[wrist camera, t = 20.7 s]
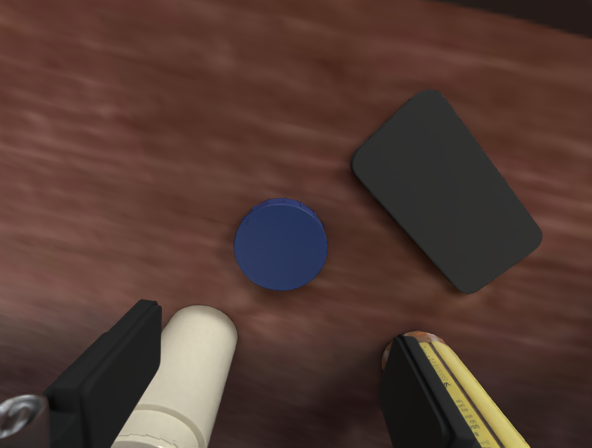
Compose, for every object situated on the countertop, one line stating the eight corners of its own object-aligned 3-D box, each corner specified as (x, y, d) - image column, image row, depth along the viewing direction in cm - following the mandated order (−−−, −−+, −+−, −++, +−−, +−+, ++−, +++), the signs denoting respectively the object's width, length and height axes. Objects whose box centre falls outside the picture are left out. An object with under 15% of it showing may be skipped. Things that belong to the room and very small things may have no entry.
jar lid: (222, 220, 21) (215, 228, 19) (303, 182, 20) (304, 186, 18) (262, 291, 23) (259, 304, 21) (338, 259, 22) (343, 270, 20)
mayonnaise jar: (252, 341, 24) (221, 486, 14) (200, 374, 25) (137, 531, 15) (205, 291, 23) (133, 414, 13) (151, 329, 24) (46, 469, 14)
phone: (465, 300, 22) (344, 163, 19) (460, 294, 23) (342, 162, 19) (549, 239, 21) (433, 79, 17) (540, 236, 21) (427, 82, 18)
